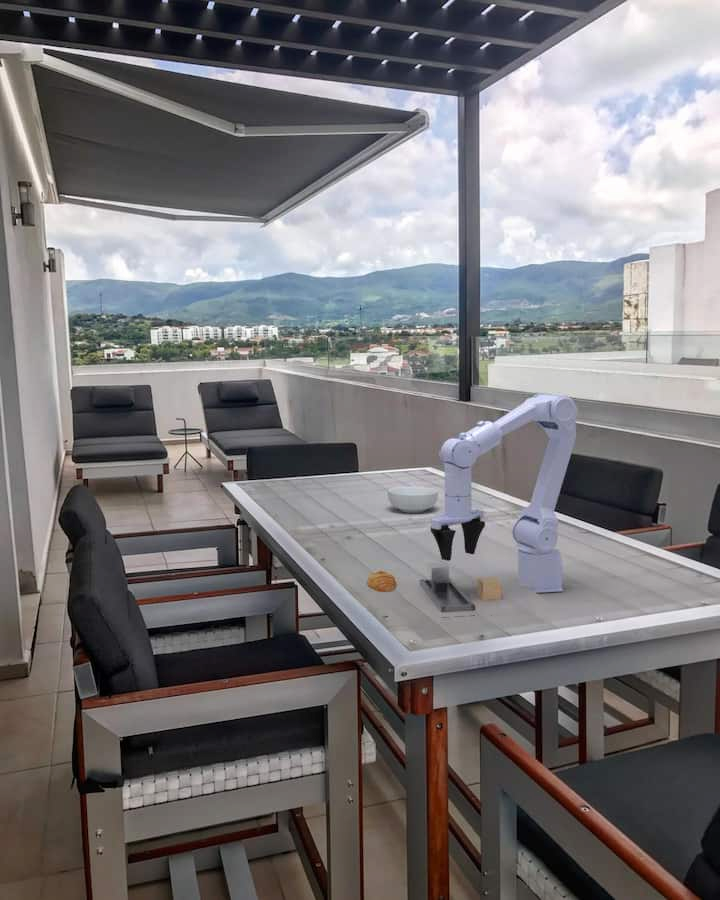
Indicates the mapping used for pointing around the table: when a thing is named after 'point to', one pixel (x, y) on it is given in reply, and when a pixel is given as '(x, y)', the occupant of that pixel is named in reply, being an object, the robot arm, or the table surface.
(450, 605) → the tray
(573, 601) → the table surface
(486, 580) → the wooden block with cap
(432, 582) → the steel block
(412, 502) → the cereal bowl
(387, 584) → the pastry
